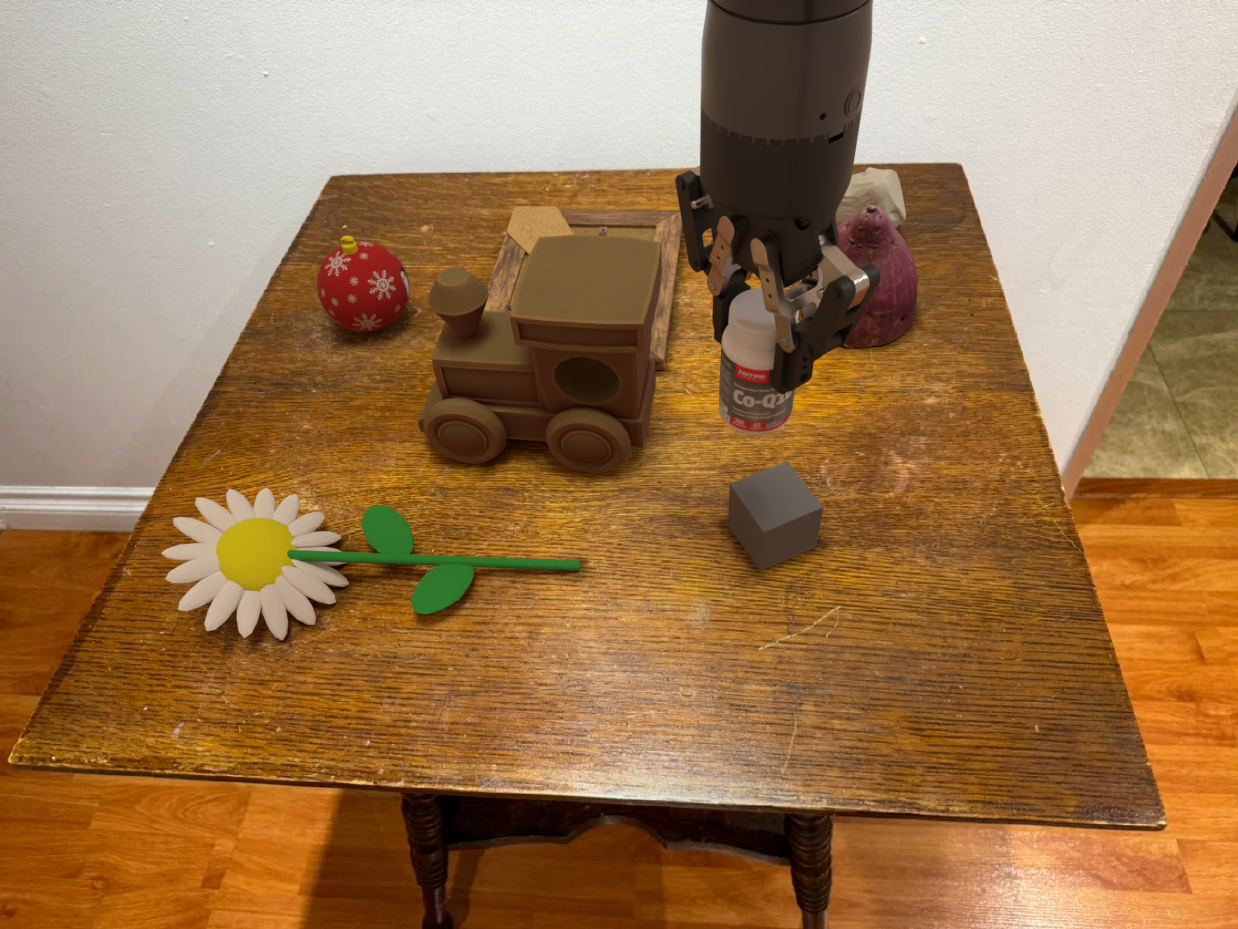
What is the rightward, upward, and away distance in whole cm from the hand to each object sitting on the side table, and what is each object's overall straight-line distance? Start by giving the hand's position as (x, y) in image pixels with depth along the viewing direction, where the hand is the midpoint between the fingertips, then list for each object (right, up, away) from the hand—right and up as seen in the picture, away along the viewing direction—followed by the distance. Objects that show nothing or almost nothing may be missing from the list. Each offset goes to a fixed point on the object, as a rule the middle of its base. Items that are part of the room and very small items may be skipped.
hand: (759, 360), depth 54 cm
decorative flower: (-26, -15, +14) cm, 33 cm away
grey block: (+3, -12, +14) cm, 19 cm away
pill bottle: (0, -3, +3) cm, 5 cm away
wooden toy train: (-15, -3, +24) cm, 28 cm away
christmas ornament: (-33, +8, +35) cm, 49 cm away
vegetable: (+14, +8, +31) cm, 35 cm away
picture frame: (-12, +11, +36) cm, 40 cm away
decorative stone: (+16, +20, +41) cm, 48 cm away
